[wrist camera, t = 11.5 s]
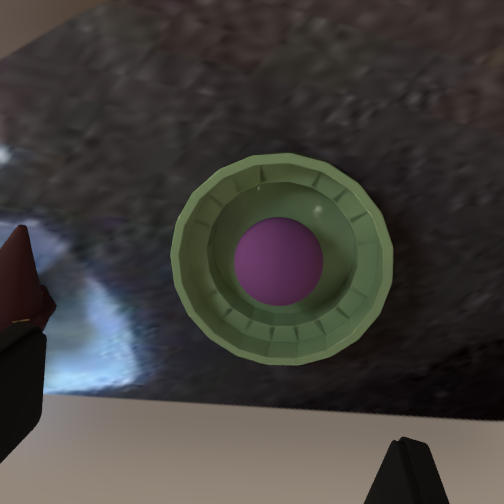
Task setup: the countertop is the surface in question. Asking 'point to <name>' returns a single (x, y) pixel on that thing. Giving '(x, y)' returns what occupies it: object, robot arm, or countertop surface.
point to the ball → (278, 261)
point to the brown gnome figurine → (22, 284)
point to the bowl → (323, 227)
